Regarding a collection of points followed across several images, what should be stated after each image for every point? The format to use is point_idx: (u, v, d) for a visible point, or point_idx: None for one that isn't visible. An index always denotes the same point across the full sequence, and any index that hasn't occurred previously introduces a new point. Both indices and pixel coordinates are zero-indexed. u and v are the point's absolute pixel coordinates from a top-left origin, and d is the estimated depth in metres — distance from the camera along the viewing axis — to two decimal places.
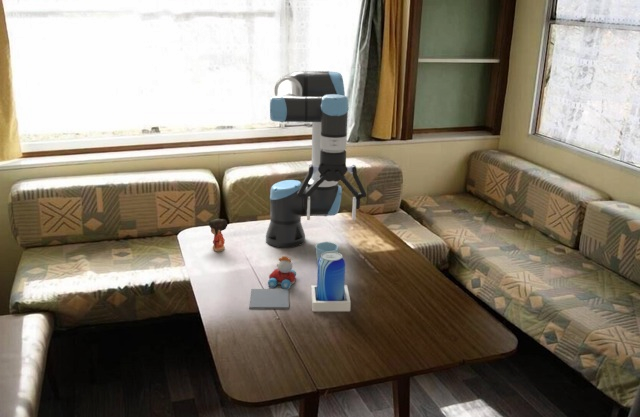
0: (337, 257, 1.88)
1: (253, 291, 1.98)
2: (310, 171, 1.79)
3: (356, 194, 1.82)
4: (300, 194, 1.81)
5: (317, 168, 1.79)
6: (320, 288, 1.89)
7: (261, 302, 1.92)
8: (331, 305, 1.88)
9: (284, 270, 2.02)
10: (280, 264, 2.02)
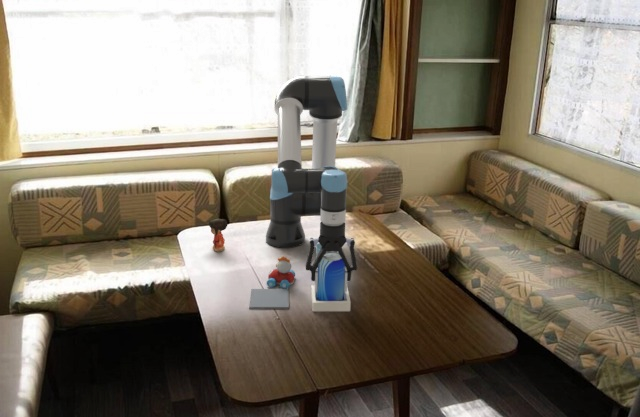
0: (337, 257, 1.88)
1: (253, 291, 1.98)
2: (311, 245, 1.86)
3: (348, 267, 1.89)
4: (308, 268, 1.88)
5: (317, 240, 1.86)
6: (320, 288, 1.89)
7: (261, 302, 1.92)
8: (331, 305, 1.88)
9: (283, 270, 2.02)
10: (279, 264, 2.02)
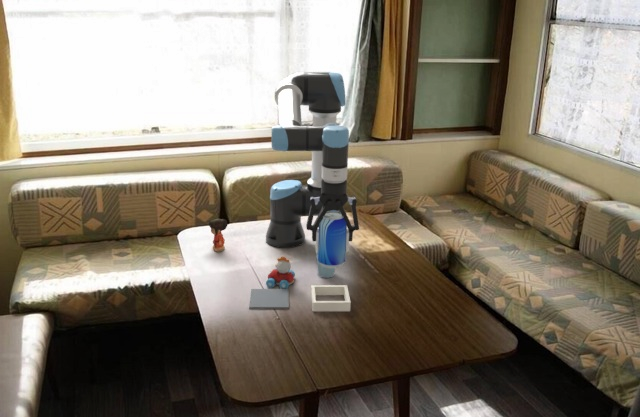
0: (338, 216, 1.84)
1: (253, 291, 1.98)
2: (312, 203, 1.81)
3: (350, 227, 1.85)
4: (309, 227, 1.84)
5: (318, 199, 1.82)
6: (321, 248, 1.85)
7: (261, 302, 1.92)
8: (331, 305, 1.88)
9: (282, 270, 2.02)
10: (278, 264, 2.02)
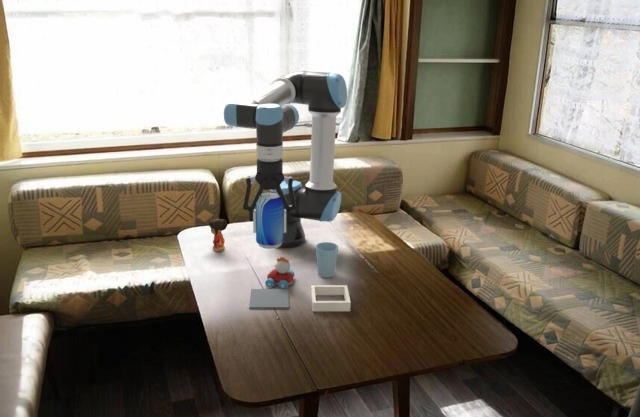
0: (275, 196, 1.83)
1: (253, 291, 1.98)
2: (248, 183, 1.80)
3: (287, 206, 1.83)
4: (245, 207, 1.83)
5: (254, 178, 1.81)
6: (258, 228, 1.84)
7: (261, 302, 1.92)
8: (331, 305, 1.88)
9: (281, 270, 2.02)
10: (278, 264, 2.02)
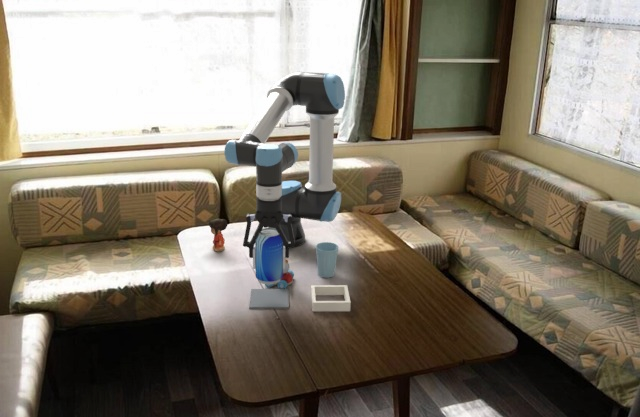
0: (274, 233, 1.86)
1: (253, 291, 1.98)
2: (248, 221, 1.84)
3: (286, 243, 1.87)
4: (245, 244, 1.87)
5: (254, 216, 1.85)
6: (258, 264, 1.88)
7: (261, 302, 1.92)
8: (331, 305, 1.88)
9: None
10: None
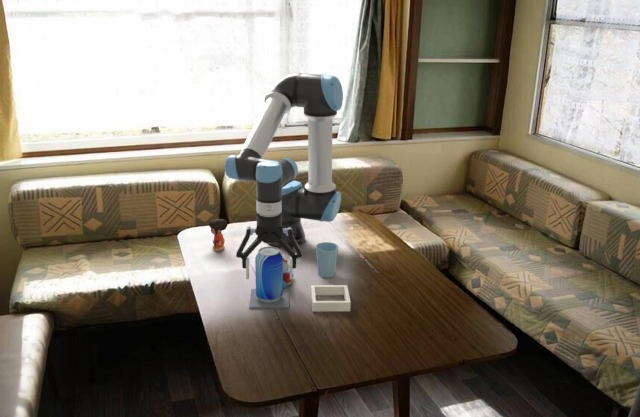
0: (274, 252, 1.89)
1: (253, 291, 1.98)
2: (247, 233, 1.86)
3: (292, 255, 1.89)
4: (238, 255, 1.88)
5: (254, 230, 1.86)
6: (258, 283, 1.90)
7: (261, 302, 1.92)
8: (331, 305, 1.88)
9: None
10: None
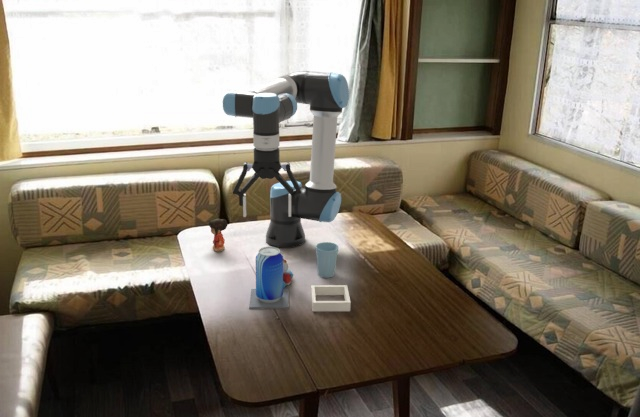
0: (274, 252, 1.89)
1: (253, 291, 1.98)
2: (244, 169, 1.81)
3: (291, 191, 1.84)
4: (235, 191, 1.83)
5: (251, 166, 1.82)
6: (258, 283, 1.90)
7: (261, 302, 1.92)
8: (331, 305, 1.88)
9: None
10: None
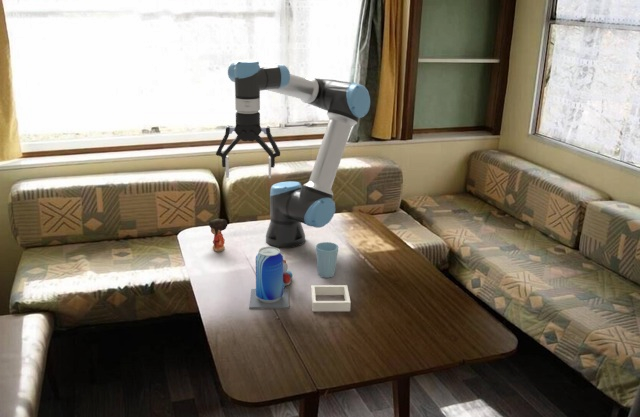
0: (274, 252, 1.89)
1: (253, 291, 1.98)
2: (226, 131, 1.93)
3: (270, 153, 1.96)
4: (218, 153, 1.95)
5: (233, 129, 1.94)
6: (258, 283, 1.90)
7: (261, 302, 1.92)
8: (331, 305, 1.88)
9: None
10: None
